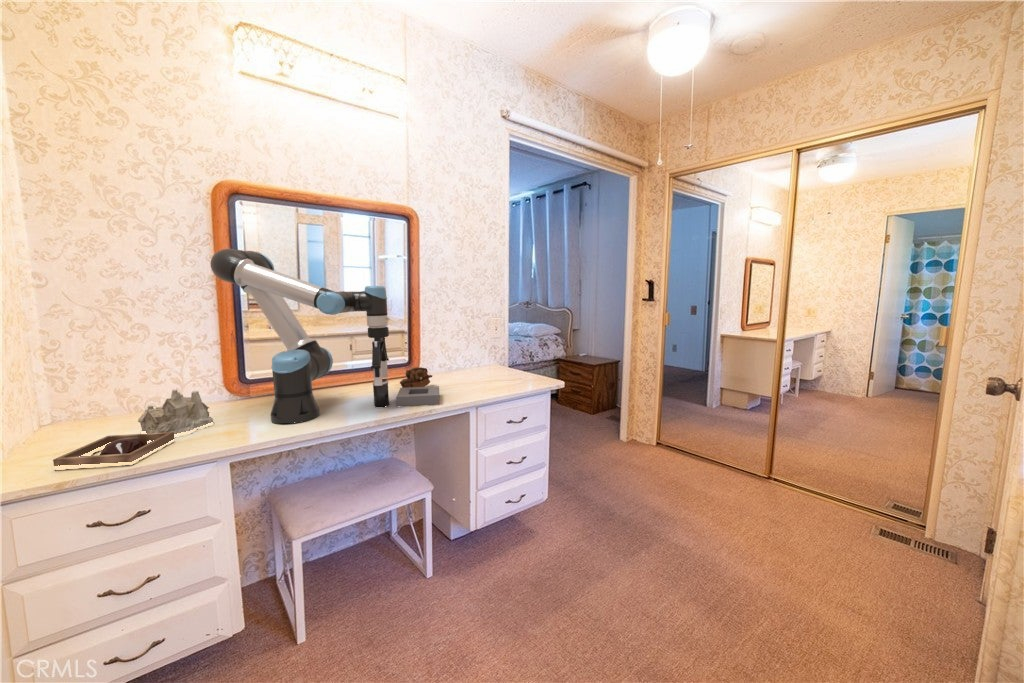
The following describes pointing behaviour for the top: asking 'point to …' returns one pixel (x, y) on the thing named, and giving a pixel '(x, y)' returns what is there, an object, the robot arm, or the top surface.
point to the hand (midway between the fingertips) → (381, 381)
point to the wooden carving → (416, 378)
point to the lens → (381, 394)
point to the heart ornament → (124, 446)
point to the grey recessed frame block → (418, 396)
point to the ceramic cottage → (176, 414)
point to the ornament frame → (74, 458)
